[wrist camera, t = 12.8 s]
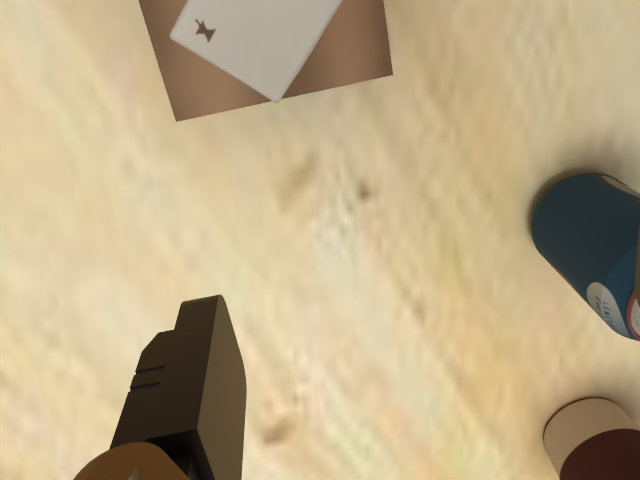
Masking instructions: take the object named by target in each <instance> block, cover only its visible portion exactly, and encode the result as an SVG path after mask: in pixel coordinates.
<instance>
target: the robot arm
mask: <svg viewBox="0 0 640 480" xmlns="http://www.w3.org/2000/svg"><path fill="white" fill-rule="evenodd" d="M635 295H636V299H637V302H638V305H639V307H640V225H639V233H638V247H637V260H636V274H635ZM135 372H136V375H134V377H133V380H132V383H131V386H130V392H128V395H127V398H126V401H125V404H124V407H123V410H122V413H121V416H120V419H119V422H118V425H117V428H116V431H115V434H114V437H113V440H112V443H111V446H110V449H109V450H108V451H106V452H104V453H102V454H101V455H99V456H97V457H96V458H95V459H93V460H92V461H90V462H89V463H88V464H87V465H86V466H85V467H84V468H83V469H82V470H81V471H80V472H79V473H78V474H77V475H76V477H75V478H74V479H73V480H241V476H242V460H243V443H244V426H245V410H246V392H247V389H246V377H245V370H244V365H243V361H242V357H241V353H240V350H239V347H238V343H237V340H236V336H235V333H234V329H233V326H232V323H231V319H230V316H229V312H228V309H227V306H226V303H225V300H224V298H223V296H222V295H215V296H210V297H205V298H200V299H194V300H189V301H184V302H182V303H181V306H180V310H179V313H178V317H177V321H176V325H175V328H174V330H170V331H165V332H159V333H158V334H157V335H156V336H155V337H154V338H153V340H152V341H151V342H150V343H149V344H148V345H147V346H146V348H145V349H144V350H143V351H142V353H141V356H140V359H139V362H138V365H137V368H136V371H135Z"/></svg>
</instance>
